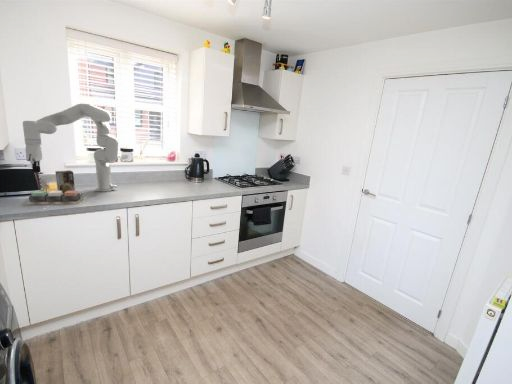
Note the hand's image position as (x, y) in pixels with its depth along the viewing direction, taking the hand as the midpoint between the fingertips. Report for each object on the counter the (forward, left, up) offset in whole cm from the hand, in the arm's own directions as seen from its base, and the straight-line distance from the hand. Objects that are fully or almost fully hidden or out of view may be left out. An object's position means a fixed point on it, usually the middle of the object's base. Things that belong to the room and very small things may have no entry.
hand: (36, 172), depth 161 cm
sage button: (0, 0, -16) cm, 16 cm away
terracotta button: (-17, 0, -16) cm, 23 cm away
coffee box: (-9, -20, -19) cm, 29 cm away
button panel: (-9, 0, -19) cm, 21 cm away
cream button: (-9, 0, -16) cm, 18 cm away
